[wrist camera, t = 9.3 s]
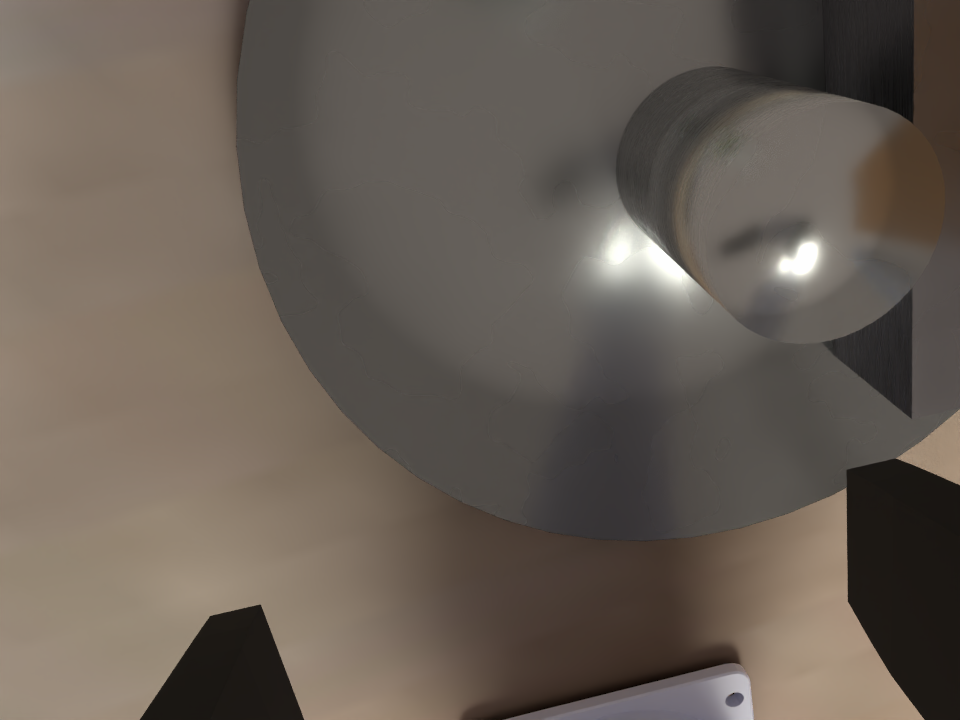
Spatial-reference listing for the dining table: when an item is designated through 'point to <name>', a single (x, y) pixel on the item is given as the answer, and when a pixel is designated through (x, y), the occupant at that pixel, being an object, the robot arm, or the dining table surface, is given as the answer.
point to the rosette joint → (614, 243)
